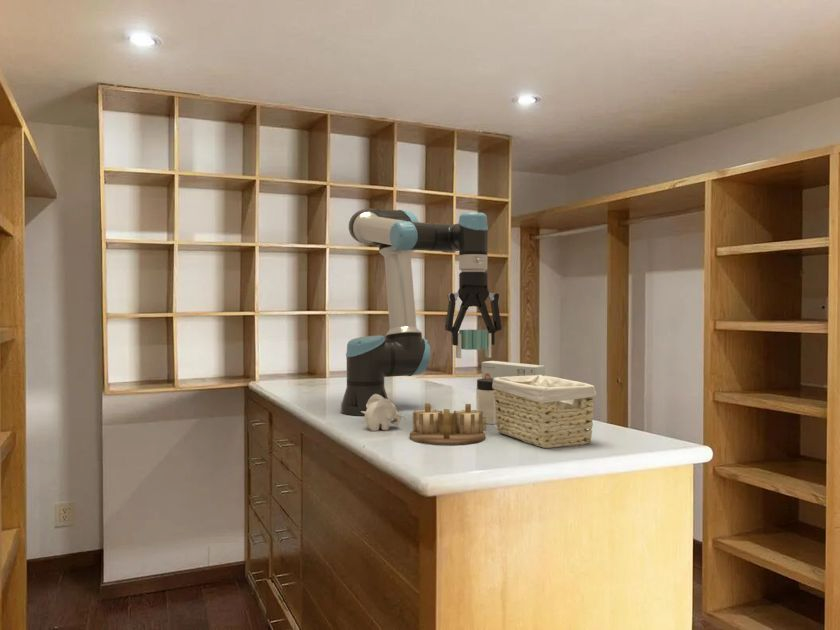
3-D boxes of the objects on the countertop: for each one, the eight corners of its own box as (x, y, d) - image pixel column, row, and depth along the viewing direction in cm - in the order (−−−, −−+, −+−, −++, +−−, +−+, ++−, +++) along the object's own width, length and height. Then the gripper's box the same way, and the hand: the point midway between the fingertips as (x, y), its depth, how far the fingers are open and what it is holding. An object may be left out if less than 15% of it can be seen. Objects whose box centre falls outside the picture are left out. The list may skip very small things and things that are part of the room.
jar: (488, 425, 191) (488, 382, 191) (470, 421, 198) (470, 379, 197) (512, 422, 196) (512, 380, 195) (494, 418, 203) (494, 377, 202)
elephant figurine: (409, 430, 183) (409, 397, 183) (364, 433, 180) (364, 399, 180) (399, 424, 193) (399, 392, 192) (356, 427, 189) (356, 394, 189)
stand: (462, 427, 188) (462, 416, 188) (481, 426, 189) (481, 415, 189) (469, 431, 182) (469, 419, 182) (489, 430, 184) (489, 418, 184)
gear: (455, 348, 186) (455, 329, 186) (482, 347, 188) (482, 329, 188) (464, 350, 179) (464, 330, 179) (491, 349, 181) (491, 330, 181)
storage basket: (599, 445, 165) (599, 383, 165) (541, 451, 158) (542, 387, 158) (542, 428, 187) (542, 374, 187) (489, 433, 180) (489, 376, 180)
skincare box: (480, 413, 213) (480, 361, 213) (492, 411, 217) (492, 360, 216) (535, 421, 197) (535, 366, 197) (546, 419, 201) (547, 364, 201)
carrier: (401, 432, 180) (401, 402, 180) (470, 429, 186) (470, 399, 185) (421, 447, 162) (421, 413, 162) (497, 442, 167) (497, 409, 167)
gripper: (439, 270, 177) (439, 359, 178) (514, 271, 182) (514, 357, 182) (432, 271, 184) (432, 357, 185) (504, 272, 189) (504, 355, 190)
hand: (473, 357), depth 184 cm, fingers closed on gear, 8 cm apart
